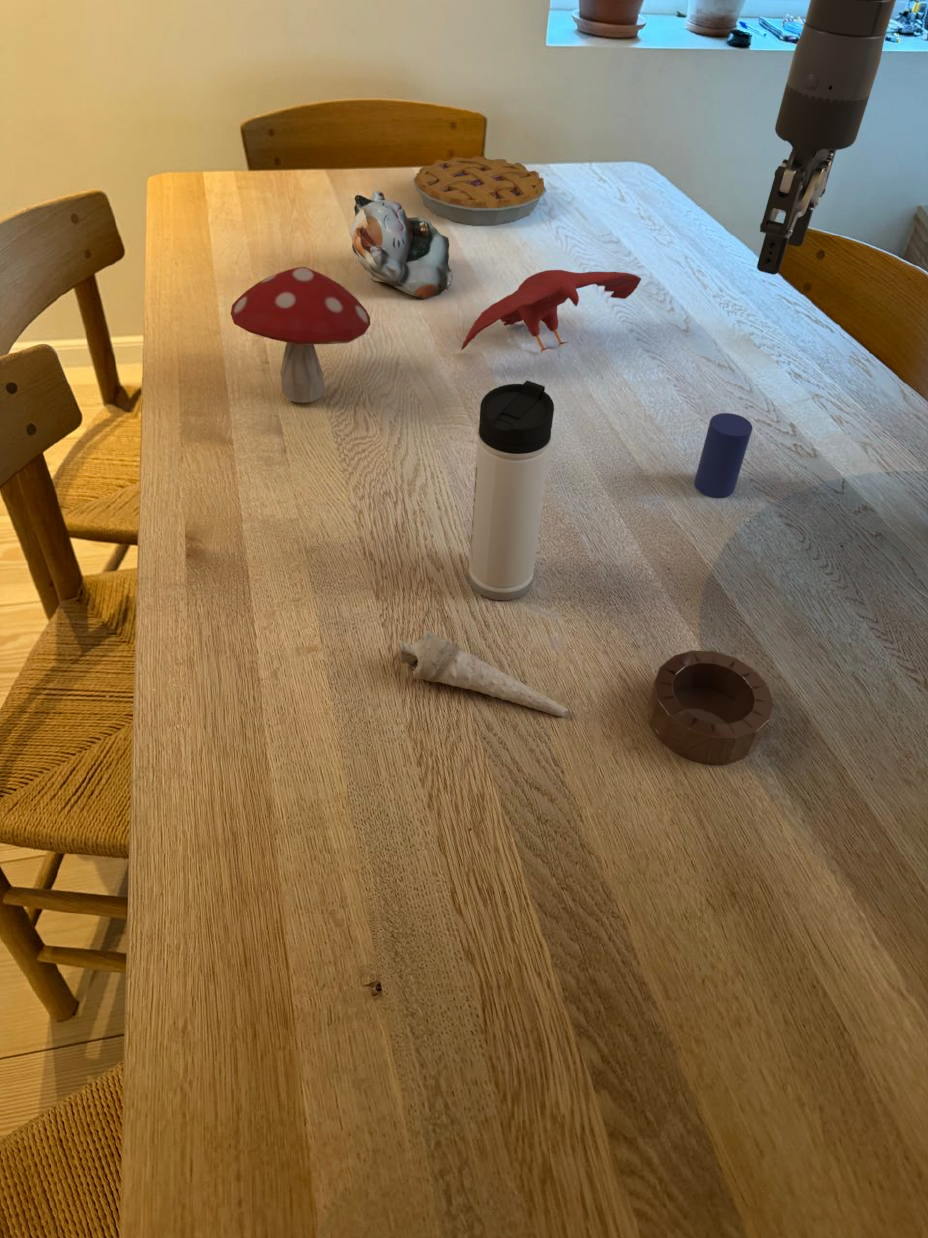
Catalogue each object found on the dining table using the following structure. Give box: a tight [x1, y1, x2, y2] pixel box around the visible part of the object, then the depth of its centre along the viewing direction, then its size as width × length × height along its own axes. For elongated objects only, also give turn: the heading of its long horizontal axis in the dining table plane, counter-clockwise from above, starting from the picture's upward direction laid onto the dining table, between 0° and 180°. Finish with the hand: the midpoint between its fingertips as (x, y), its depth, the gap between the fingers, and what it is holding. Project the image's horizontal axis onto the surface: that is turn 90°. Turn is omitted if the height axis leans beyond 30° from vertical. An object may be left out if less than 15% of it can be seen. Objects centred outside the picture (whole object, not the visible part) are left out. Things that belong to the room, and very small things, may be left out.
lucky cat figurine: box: [349, 190, 454, 300], centre depth 135 cm, size 15×12×14 cm
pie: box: [412, 155, 547, 226], centre depth 160 cm, size 22×22×5 cm
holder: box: [647, 650, 774, 766], centre depth 80 cm, size 10×10×4 cm
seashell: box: [396, 629, 569, 718], centre depth 81 cm, size 4×16×4 cm, turn 71°
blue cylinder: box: [694, 412, 753, 499], centre depth 103 cm, size 4×4×8 cm
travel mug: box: [467, 380, 555, 601], centre depth 86 cm, size 6×7×20 cm
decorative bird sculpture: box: [460, 269, 642, 353], centre depth 125 cm, size 28×9×15 cm
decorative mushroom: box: [230, 266, 371, 404], centre depth 111 cm, size 16×16×15 cm
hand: (779, 257), depth 99 cm, fingers open, 8 cm apart
